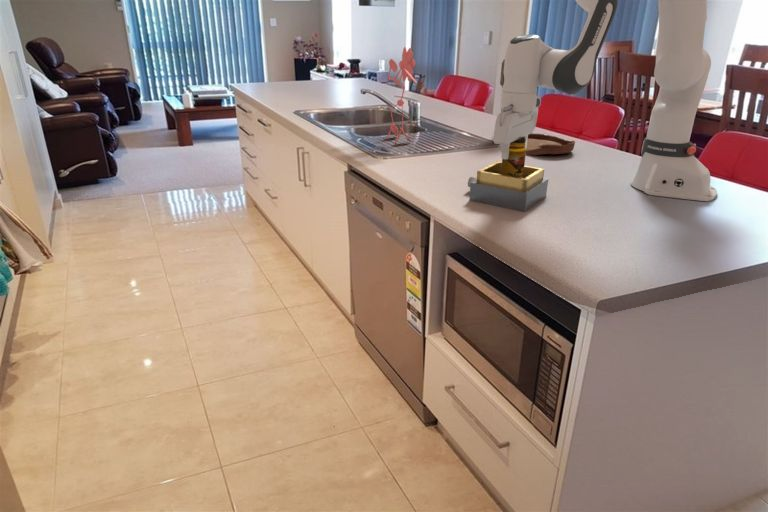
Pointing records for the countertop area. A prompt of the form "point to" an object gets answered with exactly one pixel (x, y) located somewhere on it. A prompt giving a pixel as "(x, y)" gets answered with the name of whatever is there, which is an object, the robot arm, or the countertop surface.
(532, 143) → the basket
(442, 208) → the countertop surface
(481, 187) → the grey and gold box
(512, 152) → the condiment
